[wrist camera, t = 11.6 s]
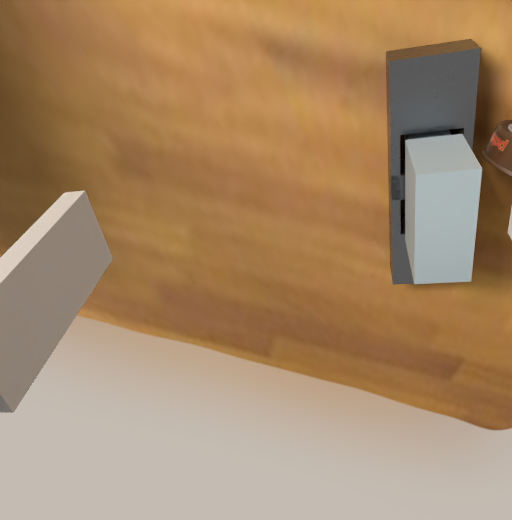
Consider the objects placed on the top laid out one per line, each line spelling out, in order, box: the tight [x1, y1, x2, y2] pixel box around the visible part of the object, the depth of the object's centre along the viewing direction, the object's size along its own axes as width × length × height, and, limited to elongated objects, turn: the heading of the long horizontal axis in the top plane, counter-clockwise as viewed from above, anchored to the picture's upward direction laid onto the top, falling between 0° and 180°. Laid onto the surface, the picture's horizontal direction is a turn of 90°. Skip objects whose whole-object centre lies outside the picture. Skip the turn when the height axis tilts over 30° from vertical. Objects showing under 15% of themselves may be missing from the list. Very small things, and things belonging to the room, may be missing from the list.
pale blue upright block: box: [405, 130, 482, 284], centre depth 37 cm, size 4×9×10 cm, turn 10°
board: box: [386, 39, 481, 284], centre depth 40 cm, size 6×20×3 cm, turn 10°
